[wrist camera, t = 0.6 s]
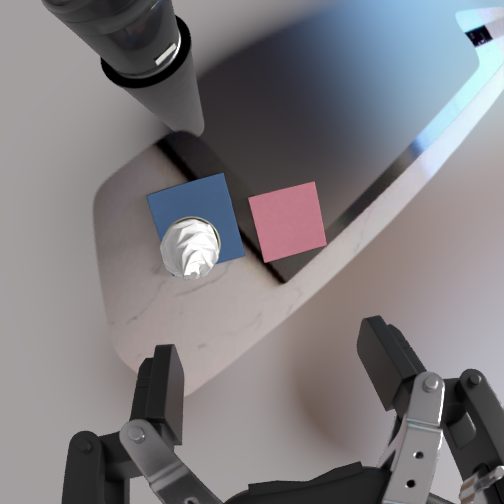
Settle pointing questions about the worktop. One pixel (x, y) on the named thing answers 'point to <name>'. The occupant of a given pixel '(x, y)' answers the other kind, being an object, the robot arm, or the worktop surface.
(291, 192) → the rose mat
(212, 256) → the ice cream cone
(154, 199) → the blue mat
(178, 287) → the worktop surface
